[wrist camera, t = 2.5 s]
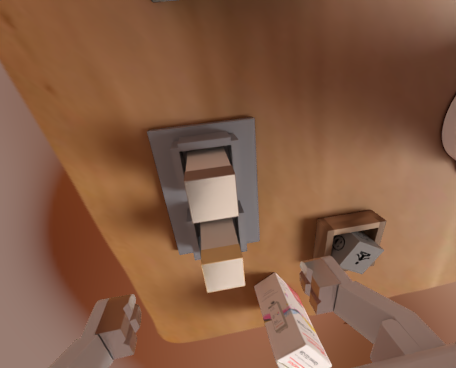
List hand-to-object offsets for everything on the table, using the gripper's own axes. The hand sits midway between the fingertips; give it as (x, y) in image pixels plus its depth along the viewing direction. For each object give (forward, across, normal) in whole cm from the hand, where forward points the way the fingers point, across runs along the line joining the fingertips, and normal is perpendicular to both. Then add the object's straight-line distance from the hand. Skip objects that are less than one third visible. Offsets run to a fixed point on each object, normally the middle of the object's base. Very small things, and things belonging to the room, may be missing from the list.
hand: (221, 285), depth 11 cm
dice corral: (+18, -20, +16) cm, 32 cm away
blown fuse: (+17, 0, 0) cm, 17 cm away
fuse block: (+18, 0, +4) cm, 19 cm away
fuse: (+17, 0, +9) cm, 19 cm away
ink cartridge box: (+19, -10, +26) cm, 34 cm away
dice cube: (+18, -20, +16) cm, 32 cm away
